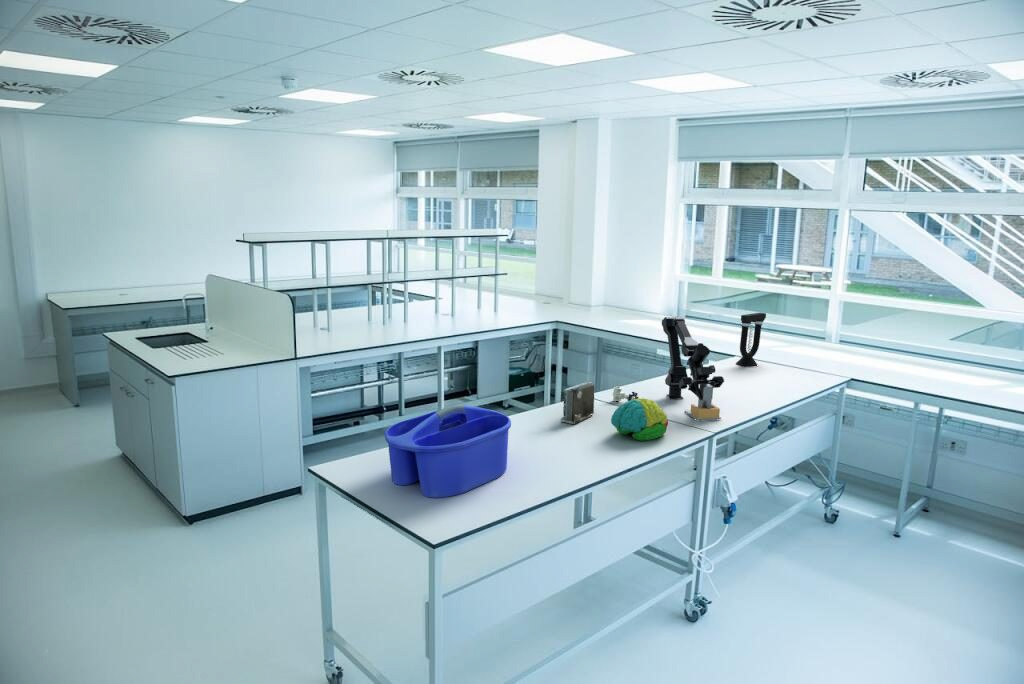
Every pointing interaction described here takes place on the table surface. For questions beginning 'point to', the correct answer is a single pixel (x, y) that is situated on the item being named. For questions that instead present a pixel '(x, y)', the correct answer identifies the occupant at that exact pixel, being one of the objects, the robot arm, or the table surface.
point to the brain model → (640, 419)
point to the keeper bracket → (704, 412)
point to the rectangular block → (705, 395)
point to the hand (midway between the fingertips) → (706, 399)
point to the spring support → (746, 321)
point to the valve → (623, 395)
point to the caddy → (449, 449)
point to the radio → (578, 403)
